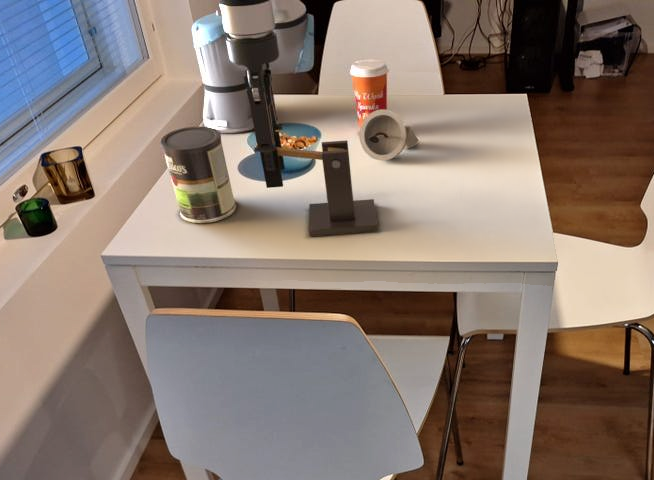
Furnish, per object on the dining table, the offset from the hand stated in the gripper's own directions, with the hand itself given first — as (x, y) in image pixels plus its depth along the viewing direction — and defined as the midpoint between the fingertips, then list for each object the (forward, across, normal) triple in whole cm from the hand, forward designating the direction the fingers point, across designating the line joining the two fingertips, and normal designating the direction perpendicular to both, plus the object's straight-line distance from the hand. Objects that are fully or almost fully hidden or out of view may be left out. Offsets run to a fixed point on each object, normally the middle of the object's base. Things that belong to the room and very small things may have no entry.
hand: (275, 177), depth 115 cm
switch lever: (-3, 0, +5) cm, 6 cm away
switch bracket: (+9, 0, +10) cm, 14 cm away
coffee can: (+9, -8, -14) cm, 19 cm away
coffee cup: (+9, -40, +19) cm, 45 cm away
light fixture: (+9, -27, +21) cm, 35 cm away
